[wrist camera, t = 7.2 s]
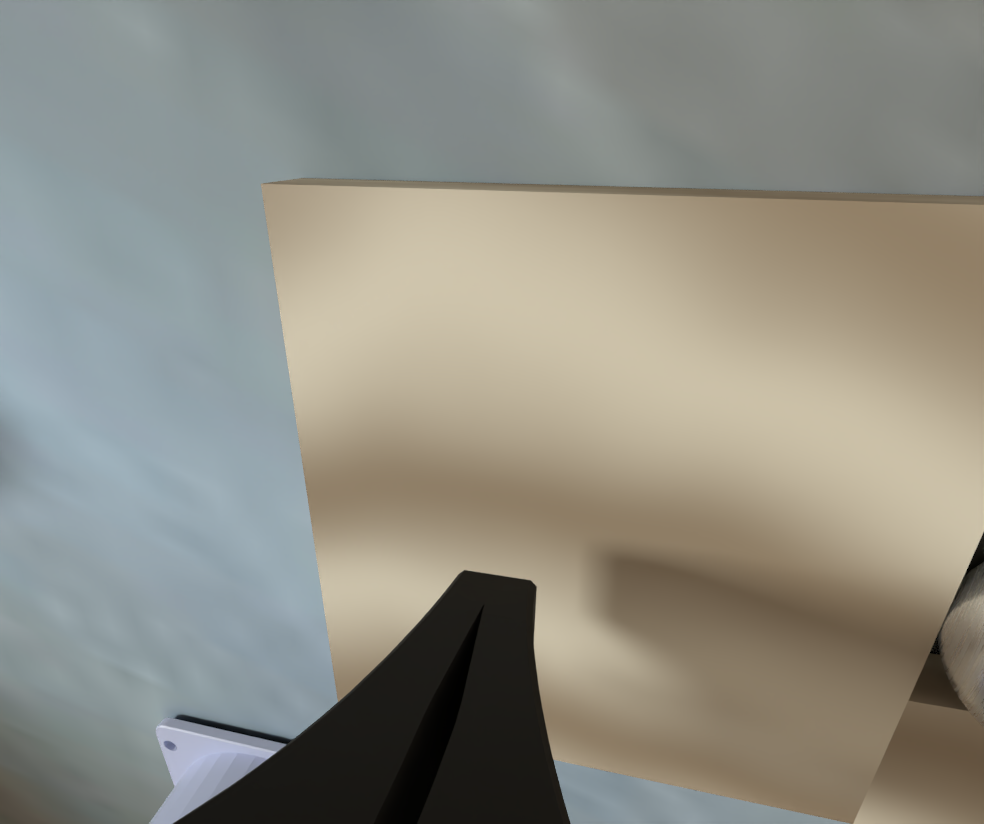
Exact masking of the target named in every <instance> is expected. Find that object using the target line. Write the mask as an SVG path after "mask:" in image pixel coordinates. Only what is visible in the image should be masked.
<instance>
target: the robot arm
mask: <svg viewBox="0 0 984 824" xmlns="http://www.w3.org/2000/svg"><path fill="white" fill-rule="evenodd" d="M536 591H537V586H536V585H535V584H534V583H533V582H532V581H531V580H526V579H520V578H513V577H507V576H500V575H494V574H487V573H481V572H474V571H468V570H464V571H462V572H461V573H459V574H458V575H457V577H456V578H455V579H454V581H453V582H452V583H451V584H450V586H449V587H448V588H447V589H446V591H445V592H444V593H443V594H442V596H441V597H440V598H439V599H438V600H437V602H436V603H435V604H434V605H433V606H432V607H431V609H430V610H429V611H428V612H427V613H426V614H425V615H424V617H423V618H422V619H421V620H420V621H419V622H418V623H417V625H416V626H415V627H414V628H413V629H412V630H411V631H410V632H409V633H408V634H407V635H406V636H405V637H404V638H403V640H402V641H401V642H400V643H399V644H398V645H397V646H396V647H395V648H394V649H393V650H392V651H391V652H390V653H389V654H388V655H387V656H386V657H385V658H384V659H383V660H382V661H381V662H380V663H379V664H378V665H377V666H376V667H375V668H374V669H373V670H372V671H371V672H370V673H369V674H368V675H367V676H366V677H365V678H364V679H363V680H362V681H361V682H359V683H358V684H357V685H356V686H355V687H354V688H353V689H352V690H351V691H350V692H349V693H348V694H347V695H346V696H344V697H343V698H342V699H341V700H340V701H339V702H338V703H337V704H335V705H334V706H333V707H332V708H331V709H330V710H329V711H327V712H326V713H325V714H324V715H323V716H322V717H320V718H319V719H318V720H317V721H316V722H314V723H313V724H312V725H311V726H309V727H308V728H307V729H306V730H305V731H303V732H302V733H301V734H300V735H298V736H297V737H296V738H295V739H293V740H292V741H291V742H289V743H288V744H283V743H279V742H275V741H270V740H266V739H262V738H257V737H253V736H249V735H244V734H240V733H236V732H231V731H227V730H223V729H218V728H214V727H209V726H205V725H201V724H196V723H192V722H188V721H183V720H179V719H175V718H165V719H163V720H162V721H161V722H160V724H159V725H158V726H157V728H156V735H157V738H158V740H159V743H160V746H161V749H162V752H163V755H164V757H165V760H166V763H167V766H168V769H169V772H170V775H171V777H172V780H173V783H174V786H175V787H174V789H173V790H172V792H171V793H170V795H169V796H168V797H167V799H166V800H165V802H164V803H163V804H162V806H161V807H160V809H159V810H158V811H157V813H156V814H155V816H154V817H153V819H152V820H151V821H150V823H149V824H570V820H569V817H568V814H567V810H566V807H565V803H564V800H563V796H562V792H561V788H560V785H559V781H558V777H557V773H556V769H555V765H554V761H553V757H552V753H551V748H550V744H549V739H548V734H547V729H546V724H545V719H544V714H543V709H542V703H541V698H540V692H539V685H538V677H537V669H536V662H535V653H534V628H535V610H536Z"/></svg>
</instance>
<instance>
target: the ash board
mask: <svg viewBox="0 0 984 824" xmlns="http://www.w3.org/2000/svg"><path fill="white" fill-rule="evenodd" d="M261 187H262V194H263V201H264V207H265V214H266V221H267V228H268V234H269V241H270V248H271V254H272V261H273V268H274V275H275V281H276V288H277V295H278V301H279V308H280V315H281V322H282V328H283V335H284V342H285V348H286V355H287V362H288V369H289V375H290V382H291V389H292V396H293V402H294V409H295V416H296V422H297V429H298V436H299V443H300V449H301V456H302V463H303V469H304V476H305V483H306V490H307V496H308V503H309V510H310V516H311V523H312V530H313V537H314V543H315V550H316V557H317V563H318V570H319V577H320V584H321V590H322V597H323V604H324V611H325V617H326V624H327V631H328V637H329V644H330V651H331V658H332V664H333V671H334V678H335V684H336V691H337V698H338V702H339V701H340V700H341V699H342V698H343V697H344V696H346V695H347V694H348V693H349V692H350V691H351V690H352V689H353V688H354V687H355V686H356V685H357V684H358V683H359V682H361V681H362V680H363V679H364V678H365V677H366V676H367V675H368V674H369V673H370V672H371V671H372V670H373V669H374V668H375V667H376V666H377V665H378V664H379V663H380V662H381V661H382V660H383V659H384V658H385V657H386V656H387V655H388V654H389V653H390V652H391V651H392V650H393V649H394V648H395V647H396V646H397V645H398V644H399V643H400V642H401V641H402V640H403V638H404V637H405V636H406V635H407V634H408V633H409V632H410V631H411V630H412V629H413V628H414V627H415V626H416V625H417V623H418V622H419V621H420V620H421V619H422V618H423V617H424V615H425V614H426V613H427V612H428V611H429V610H430V609H431V607H432V606H433V605H434V604H435V603H436V602H437V600H438V599H439V598H440V597H441V596H442V594H443V593H444V592H445V591H446V589H447V588H448V587H449V586H450V584H451V583H452V582H453V581H454V579H455V578H456V577H457V575H458V574H459V573H461V572H462V571H464V570H468V571H474V572H481V573H487V574H494V575H500V576H507V577H513V578H520V579H526V580H531V581H532V582H533V583H534V584H535V585H536V586H537V591H536V610H535V628H534V653H535V662H536V669H537V677H538V685H539V692H540V698H541V703H542V709H543V714H544V719H545V724H546V729H547V734H548V739H549V744H550V748H551V753H552V757H553V760H558V761H562V762H567V763H572V764H576V765H581V766H586V767H590V768H595V769H600V770H604V771H609V772H614V773H618V774H623V775H628V776H632V777H637V778H642V779H646V780H651V781H656V782H660V783H665V784H669V785H674V786H679V787H683V788H688V789H693V790H697V791H702V792H707V793H711V794H716V795H721V796H725V797H730V798H735V799H739V800H744V801H749V802H753V803H758V804H763V805H767V806H772V807H777V808H781V809H786V810H791V811H795V812H800V813H804V814H809V815H814V816H818V817H823V818H828V819H832V820H837V821H842V822H846V823H851V824H984V727H983V726H982V725H981V724H980V723H979V722H978V721H977V720H976V719H975V717H974V716H973V715H972V714H971V713H970V712H969V711H968V709H967V708H966V707H965V705H964V704H963V703H962V701H961V700H960V699H959V697H958V695H957V694H956V692H955V690H954V688H953V687H952V685H951V683H950V681H949V679H948V676H947V674H946V672H945V670H944V666H943V663H942V659H941V656H940V655H938V654H932V653H930V651H931V649H932V646H933V644H934V642H935V640H936V637H937V635H938V633H939V631H940V628H941V626H942V624H943V622H944V620H945V617H946V615H947V613H948V611H949V608H950V606H951V604H952V602H953V599H954V597H955V595H956V593H957V590H958V588H959V586H960V584H961V582H962V579H963V577H964V575H965V573H966V570H967V568H968V566H969V564H970V561H971V559H972V557H973V555H974V552H975V550H976V548H977V546H978V544H979V541H980V539H981V537H982V535H983V532H984V196H950V195H913V194H875V193H838V192H801V191H763V190H726V189H689V188H652V187H614V186H577V185H540V184H502V183H465V182H428V181H390V180H353V179H316V178H300V179H293V180H285V181H278V182H270V183H263V184H261Z"/></svg>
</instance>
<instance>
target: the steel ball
mask: <svg viewBox="0 0 984 824" xmlns="http://www.w3.org/2000/svg"><path fill="white" fill-rule="evenodd" d="M938 643H939V650H940V656H941V659H942V663H943V666H944V670H945V672H946V674H947V676H948V679H949V681H950V683H951V685H952V687H953V688H954V690H955V692H956V694H957V695H958V697H959V699H960V700H961V701H962V703H963V704H964V705H965V707H966V708H967V709H968V711H969V712H970V713H971V714H972V715H973V716H974V717H975V719H976V720H977V721H978V722H979V723H980V724H981V725H982V726H983V727H984V562H983V563H981V564H980V565H978V566H977V567H975V568H974V569H972V570H970V571H969V572H968V573H967V574H966V575H965V576H964V577H963V579H962V582H961V584H960V586H959V588H958V590H957V593H956V595H955V597H954V599H953V602H952V604H951V606H950V608H949V611H948V613H947V615H946V617H945V620H944V622H943V624H942V626H941V628H940V631H939V633H938Z"/></svg>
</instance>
